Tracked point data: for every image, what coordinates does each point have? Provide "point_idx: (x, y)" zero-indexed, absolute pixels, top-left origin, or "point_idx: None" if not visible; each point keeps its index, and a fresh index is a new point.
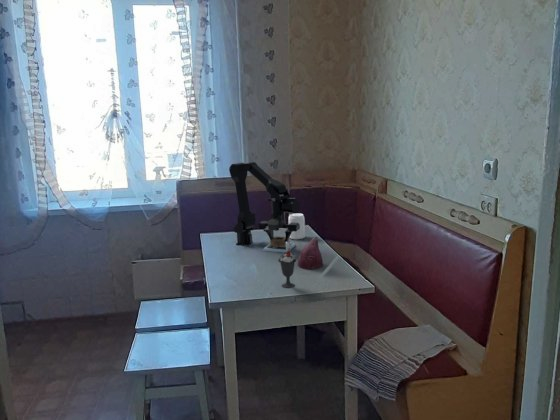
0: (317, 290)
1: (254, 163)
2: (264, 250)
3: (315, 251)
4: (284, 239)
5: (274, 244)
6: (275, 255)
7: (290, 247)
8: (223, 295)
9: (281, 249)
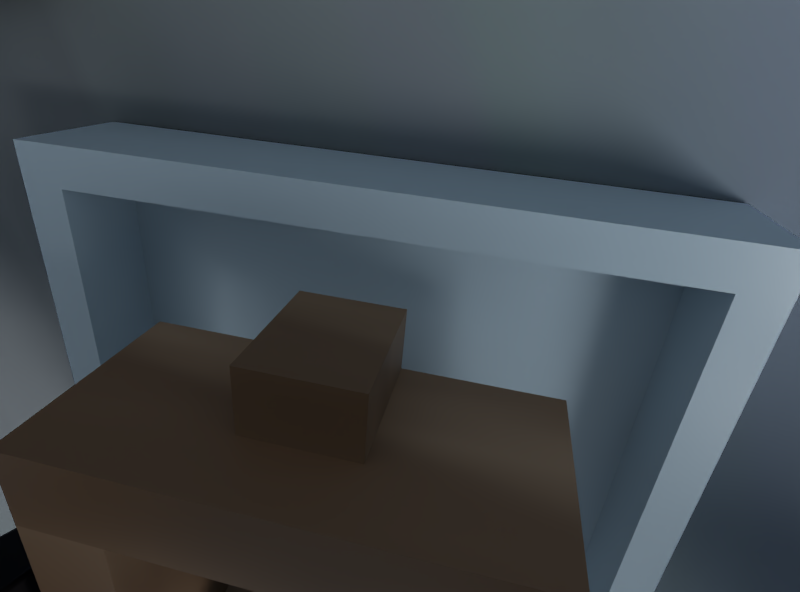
0: None
1: None
2: (752, 222)
3: None
4: (46, 573)
5: (418, 412)
6: (359, 4)
7: (79, 375)
8: None
9: (174, 169)
